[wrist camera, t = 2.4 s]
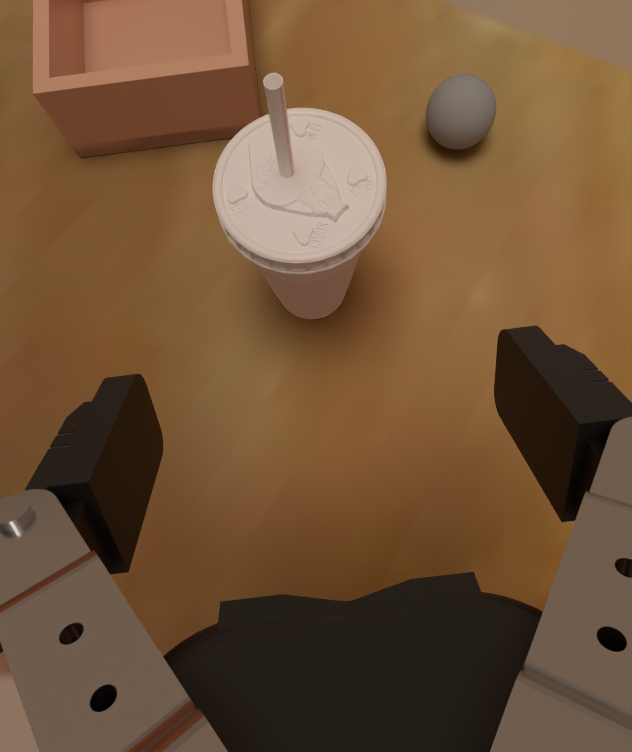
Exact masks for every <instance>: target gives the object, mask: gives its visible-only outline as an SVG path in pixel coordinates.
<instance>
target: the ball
mask: <svg viewBox="0 0 632 752" xmlns="http://www.w3.org/2000/svg"><path fill="white" fill-rule="evenodd" d="M495 114H496V101H495V97H494V94H493V92H492V90H491V88H490V87H489V85H488V84H487V83H486V82H485V81H484V80H482V79H481V78H479V77H477V76H474V75H469V74H461V75H456V76H453V77H450V78H448V79H447V80H445V81H444V82H442V83H441V84H440V85H439V86H438V87H437V88H436V89H435V91H434V92H433V94H432V95H431V97H430V99H429V102H428V105H427V110H426V123H427V127H428V130H429V132H430V134H431V135H432V137H433V138H434V140H435V141H437V142H438V143H439V144H440V145H442V146H444V147H446V148H449V149H465V148H468V147H471V146H473V145H475V144H476V143H478V142H479V141H480V140H482V139H483V138H484V137H485V136H486V134H487V133H488V132H489V130H490V128H491V126H492V124H493V122H494V118H495Z"/></svg>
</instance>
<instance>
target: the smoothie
mask: <svg viewBox="0 0 632 752" xmlns="http://www.w3.org/2000/svg"><path fill="white" fill-rule="evenodd" d="M263 83H264V89H265V94H266V100H267V105H268V111H269V114H267V115H265V116H262V117H260V118H258V119H256V120H255V121H253V122H251V123H250V124H248V125H247V126H245V127H244V128H243V129H242V130H240V131H239V132H238V133H237V134H236V135H235V136H234V137H233V138H232V139H231V141H230V142H229V143H228V144H227V146H226V147H225V149H224V150H223V152H222V154H221V156H220V158H219V160H218V163H217V166H216V168H215V173H214V178H213V198H214V203H215V207H216V210H217V213H218V217H219V222H220V225H221V227H222V229H223V230H224V232H225V234H226V236H227V238H228V240H229V242H230V243H231V244H232V245H233V246H234V247H235V248H236V249H237V250H238V251H239V252H240V253H241V254H242V255H243V256H244V257H245V258H247V259H249V260H250V261H252V262H254V264H255V265H256V267H257V268H258V270H259V271H260V272H261V274H262V275H263V277H264V278H265V280H266V281H267V283H268V284H269V286H270V287H271V289H272V290H273V292H274V293H275V294H276V296H277V297H278V299H279V300H280V302H281V303H282V305H283V306H284V307H285V308H286V309H287V310H288V311H289V312H290V313H291V314H293V315H295V316H297V317H300V318H303V319H319V318H323V317H326V316H328V315H330V314H331V313H333V312H334V311H335V310H336V309H337V308H338V307H339V306H340V305H341V303H342V302H343V300H344V297H345V294H346V292H347V289H348V286H349V284H350V281H351V278H352V276H353V273H354V270H355V267H356V265H357V262H358V259H359V257H360V254H361V251H362V249H363V248H364V247H366V246H367V245H368V243H369V242H370V240H371V239H372V237H373V236H374V234H375V233H376V231H377V230H378V228H379V227H380V224H381V221H382V217H383V214H384V211H385V208H386V172H385V167H384V163H383V160H382V157H381V155H380V153H379V151H378V149H377V147H376V146H375V144H374V143H373V141H372V140H371V139H370V137H369V136H368V135H367V134H366V133H365V132H364V131H363V130H362V129H361V128H359V127H358V126H357V125H355V124H354V123H353V122H351V121H349V120H348V119H346V118H344V117H342V116H340V115H337V114H335V113H332V112H328V111H325V110H320V109H313V108H292V109H287V108H286V101H285V93H284V85H283V79H282V77H281V76H280V75H279V74H277V73H270V74H268V75H267V76H266V77H265V78H264V80H263Z"/></svg>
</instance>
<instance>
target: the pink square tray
mask: <svg viewBox="0 0 632 752" xmlns="http://www.w3.org/2000/svg"><path fill="white" fill-rule="evenodd" d="M33 94H34V96H35V97H36V99H37V100H38V101H39V103H40V104H41V105H42V107H43V108H44V109H45V111H46V112H47V113H48V115H49V116H50V117H51V119H52V120H53V121H54V123H55V124H56V125H57V127H58V128H59V129H60V131H61V132H62V133H63V135H64V136H65V137H66V139H67V140H68V142H69V143H70V144H71V146H72V147H73V148H74V150H75V151H76V152H77V154H78V155H79V156H80V158H82V157H90V156H98V155H105V154H113V153H120V152H128V151H136V150H143V149H151V148H159V147H166V146H174V145H181V144H189V143H197V142H204V141H212V140H220V139H227V138H233V137H234V136H235V135H236V134H237V133H238V132H239V131H240V130H242V129H243V128H244V127H245V126H247V125H248V124H250V123H251V122H253V121H255V120H256V119H258V118H260V117H261V113H260V104H259V95H258V86H257V77H256V68H255V59H254V50H253V41H252V32H251V23H250V14H249V5H248V0H33Z"/></svg>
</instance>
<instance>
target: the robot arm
mask: <svg viewBox="0 0 632 752" xmlns="http://www.w3.org/2000/svg"><path fill="white" fill-rule="evenodd" d="M494 398H495V404H496V408H497V411H498V414H499V416H500V418H501V420H502V421H503V423H504V425H505V426H506V428H507V430H508V431H509V433H510V435H511V437H512V438H513V440H514V442H515V443H516V445H517V447H518V449H519V450H520V452H521V454H522V455H523V457H524V459H525V460H526V462H527V464H528V466H529V467H530V469H531V471H532V472H533V474H534V476H535V477H536V479H537V481H538V483H539V484H540V486H541V488H542V489H543V491H544V493H545V494H546V496H547V498H548V500H549V501H550V503H551V505H552V506H553V508H554V510H555V511H556V513H557V515H558V517H559V518H560V520H561V522H567V521H575V523H574V525H573V528H572V531H571V534H570V537H569V540H568V542H567V545H566V548H565V551H564V554H563V557H562V559H561V562H560V565H559V568H558V571H557V574H556V576H555V579H554V582H553V585H552V588H551V591H550V593H549V596H548V599H547V602H546V605H545V608H544V610H543V612H542V611H540V610H539V609H537V608H534V607H532V606H530V605H527V604H525V603H523V602H520V601H517V600H514V599H511V598H508V597H505V596H500V595H496V594H491V593H484V592H481V591H480V588H479V585H478V583H477V580H476V577H475V574H474V572H468V573H460V574H451V575H443V576H434V577H426V578H418V579H410V580H408V581H405V582H402V583H400V584H397V585H394V586H391V587H389V588H386V589H383V590H380V591H378V592H375V593H372V594H369V595H367V596H364V597H361V598H358V599H356V600H352V601H335V600H326V599H317V598H309V597H300V596H291V595H283V594H282V595H274V596H265V597H257V598H248V599H240V600H231V601H223V602H220V611H219V620H218V623H217V624H214V625H212V626H209V627H207V628H205V629H203V630H201V631H199V632H197V633H195V634H193V635H192V636H190V637H189V638H187V639H185V640H184V641H182V642H181V643H179V644H178V645H177V646H175V647H174V648H173V649H172V650H170V651H169V652H168V653H167V654H165V655H164V656H162V654H161V653H160V651H159V650H158V648H157V647H156V645H155V643H154V642H153V640H152V639H151V637H150V636H149V634H148V633H147V631H146V630H145V628H144V626H143V625H142V623H141V622H140V620H139V619H138V617H137V616H136V614H135V612H134V611H133V609H132V608H131V606H130V605H129V603H128V602H127V600H126V599H125V597H124V595H123V594H122V592H121V591H120V589H119V588H118V586H117V585H116V583H115V582H114V580H113V578H112V577H111V575H110V574H117V573H125V572H129V568H130V565H131V561H132V558H133V555H134V551H135V548H136V544H137V541H138V537H139V534H140V531H141V527H142V524H143V520H144V517H145V513H146V510H147V507H148V503H149V500H150V496H151V493H152V489H153V486H154V483H155V479H156V476H157V472H158V469H159V465H160V462H161V459H162V454H163V437H162V432H161V428H160V425H159V422H158V419H157V416H156V413H155V410H154V406H153V403H152V400H151V397H150V394H149V391H148V388H147V385H146V382H145V380H144V378H143V377H142V375H140V374H133V375H125V376H117V377H108V378H105V379H104V380H103V382H102V384H101V385H100V387H99V389H98V391H97V393H96V395H95V397H94V398H93V400H92V401H91V402H84V403H83V404H82V405H80V406H79V407H78V408H77V409H76V410H75V411H74V412H72V413H71V414H70V415H69V416H68V417H67V418H66V420H65V421H64V423H63V425H62V427H61V428H60V430H59V432H58V436H56V437H55V439H54V440H53V442H52V444H51V446H50V447H51V449H48V451H47V453H46V454H45V456H44V458H43V459H42V461H41V463H40V465H39V466H38V468H37V470H36V472H35V473H34V475H33V477H32V478H31V480H30V482H29V484H28V485H27V487H26V489H25V491H22V492H18V493H15V494H12V495H10V496H8V497H6V498H4V499H2V500H0V653H1V652H3V651H4V654H5V656H6V659H7V662H8V665H9V668H10V670H11V673H12V676H13V679H14V682H15V684H16V687H17V690H18V693H19V695H20V698H21V701H22V704H23V707H24V709H25V712H26V715H27V718H28V720H29V723H30V726H31V729H32V731H33V734H34V737H35V740H36V743H37V745H38V748H39V751H40V752H632V403H631V402H630V401H629V400H628V399H627V398H626V397H625V396H624V395H623V394H622V392H621V391H620V390H619V389H618V388H617V387H616V386H615V385H614V384H613V383H612V382H609V381H608V378H607V377H606V376H605V375H604V374H603V373H602V372H601V371H598V368H597V367H596V366H595V365H594V364H593V363H592V362H591V361H590V360H589V359H588V358H587V357H586V356H585V355H584V354H582V353H580V352H578V351H576V350H574V349H572V348H570V347H568V346H566V345H564V344H562V345H555V344H554V343H553V342H552V341H551V340H550V339H549V337H548V336H547V335H546V334H545V333H544V332H543V331H542V330H541V329H540V328H539V327H538V326H528V327H520V328H512V329H504V330H501V331H500V333H499V336H498V344H497V357H496V371H495V384H494Z"/></svg>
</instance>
